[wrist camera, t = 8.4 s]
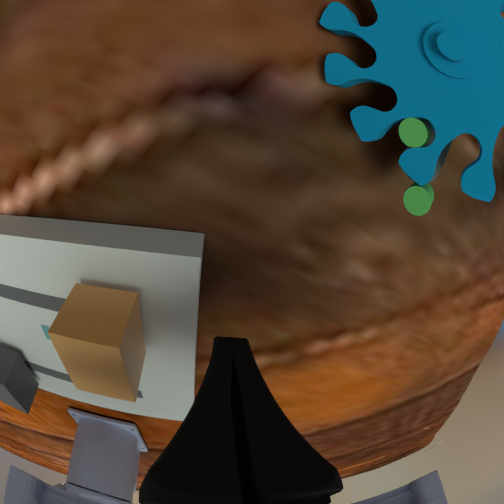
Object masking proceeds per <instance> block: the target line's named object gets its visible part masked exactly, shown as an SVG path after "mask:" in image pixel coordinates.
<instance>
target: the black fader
mask: <svg viewBox="0 0 504 504" xmlns="http://www.w3.org/2000/svg"><path fill="white" fill-rule="evenodd" d="M38 386H39V383H38V382H37V380H36V379H35V377H34V376H33V374H32V373H31V371H30V370H29V368H28V366H27V365H26V363H25V362H24V360H23V358H22V357H21V355H20V353H18V352H15V351H13V350H10V349H8V348H5V347H3V346H0V400H1V401H2V402H4V403H6V404H8V405H10V406H12V407H14V408H16V409H19V410H21V411H23V412H25V413H27V414H28V413H29V411H30V408H31V405H32V402H33V399H34V397H35V394H36V391H37V389H38Z"/></svg>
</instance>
